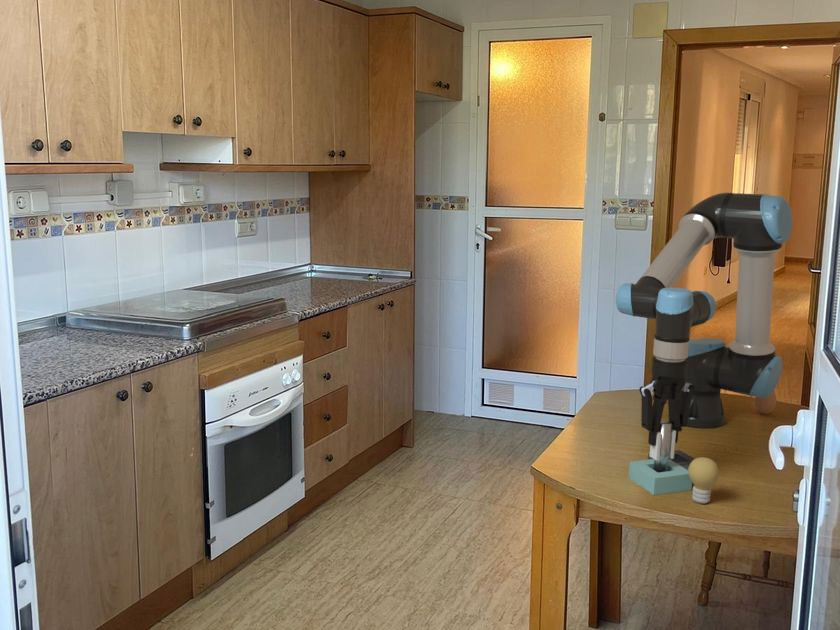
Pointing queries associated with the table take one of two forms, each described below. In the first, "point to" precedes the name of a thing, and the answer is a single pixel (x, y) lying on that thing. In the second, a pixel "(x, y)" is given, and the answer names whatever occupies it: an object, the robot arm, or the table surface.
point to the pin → (664, 447)
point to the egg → (766, 403)
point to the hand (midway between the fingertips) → (661, 457)
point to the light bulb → (702, 478)
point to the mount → (680, 459)
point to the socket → (660, 477)
